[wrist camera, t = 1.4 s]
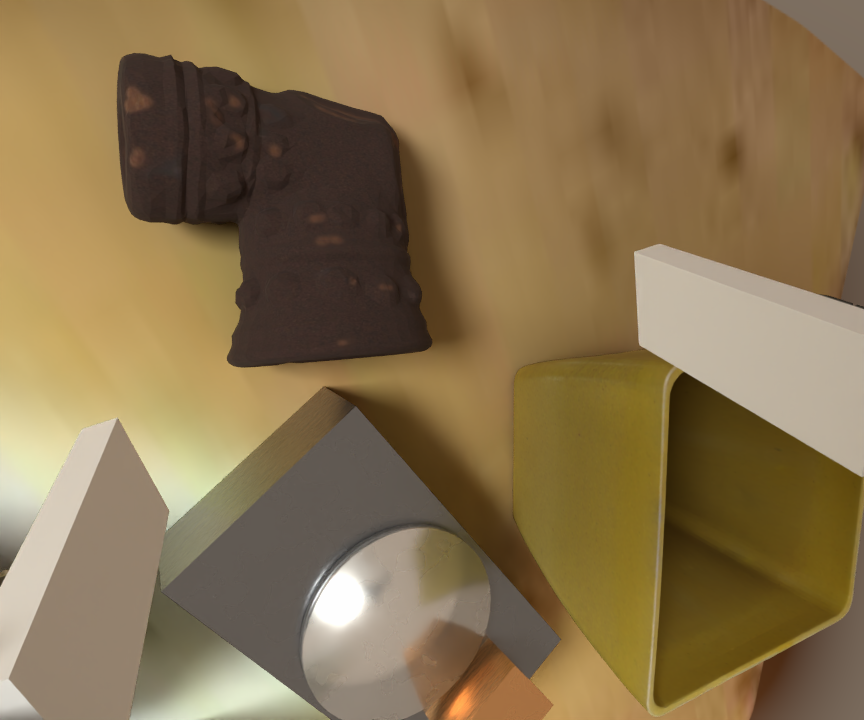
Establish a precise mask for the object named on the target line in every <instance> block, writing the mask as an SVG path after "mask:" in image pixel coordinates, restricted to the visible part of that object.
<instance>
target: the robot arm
mask: <svg viewBox="0 0 864 720" xmlns="http://www.w3.org/2000/svg"><path fill="white" fill-rule="evenodd" d="M634 259H635V277H636V296H637V315H638V334H639V345H640V346H642V347H643V348H645V349H647V350H649V351H650V352H652V353H654V354H655V355H657V356H659V357H660V358H662V359H664V360H665V361H667V362H669V363H670V364H672V365H674V366H675V367H677V368H679V369H681V370H682V371H684V372H686V373H687V374H689V375H691V376H692V377H694V378H696V379H697V380H699V381H701V382H702V383H704V384H706V385H707V386H709V387H711V388H713V389H714V390H716V391H718V392H719V393H721V394H723V395H724V396H726V397H728V398H729V399H731V400H733V401H734V402H736V403H738V404H739V405H741V406H743V407H745V408H746V409H748V410H750V411H751V412H753V413H755V414H756V415H758V416H760V417H761V418H763V419H765V420H766V421H768V422H770V423H771V424H773V425H775V426H777V427H778V428H780V429H782V430H783V431H785V432H787V433H788V434H790V435H792V436H793V437H795V438H797V439H798V440H800V441H802V442H803V443H805V444H807V445H809V446H810V447H812V448H814V449H815V450H817V451H819V452H820V453H822V454H824V455H825V456H827V457H829V458H830V459H832V460H834V461H835V462H837V463H839V464H841V465H842V466H844V467H846V468H847V469H849V470H851V471H852V472H854V473H856V474H857V475H859V476H861V477H863V476H864V307H863V306H859V305H856V306H853V304H852V303H850V302H846V301H843V300H840V299H837V298H834V297H831V296H827V295H820V294H815V293H812V292H809V291H806V290H803V289H799V288H796V287H793V286H790V285H787V284H784V283H781V282H778V281H774V280H771V279H768V278H765V277H762V276H759V275H756V274H753V273H749V272H746V271H743V270H740V269H737V268H734V267H731V266H728V265H724V264H721V263H718V262H715V261H712V260H709V259H706V258H703V257H699V256H696V255H693V254H690V253H687V252H684V251H681V250H678V249H674V248H671V247H668V246H665V245H662V244H657V245H654V246H651V247H648V248H645V249H642V250H639V251H635V252H634ZM168 514H169V509H168V508H167V506H166V504H165V502H164V500H163V499H162V497H161V495H160V493H159V491H158V490H157V488H156V486H155V484H154V482H153V481H152V479H151V477H150V475H149V473H148V472H147V470H146V468H145V466H144V464H143V463H142V461H141V459H140V457H139V455H138V454H137V452H136V450H135V448H134V446H133V445H132V443H131V441H130V439H129V437H128V435H127V434H126V432H125V430H124V428H123V426H122V425H121V423H120V421H119V419H118V418H115V419H112V420H108V421H105V422H102V423H99V424H96V425H93V426H90V427H87V428H83V429H82V430H81V431H80V433H79V435H78V437H77V439H76V441H75V443H74V445H73V447H72V449H71V451H70V453H69V455H68V457H67V459H66V461H65V463H64V464H63V466H62V468H61V470H60V472H59V474H58V476H57V478H56V480H55V482H54V484H53V486H52V488H51V490H50V492H49V494H48V496H47V497H46V499H45V501H44V503H43V505H42V507H41V509H40V511H39V513H38V515H37V517H36V519H35V521H34V523H33V525H32V527H31V528H30V530H29V532H28V534H27V536H26V538H25V540H24V542H23V544H22V546H21V548H20V550H19V552H18V554H17V556H16V558H15V560H14V561H13V563H12V565H11V567H10V569H9V571H8V573H7V575H5V576H2V577H0V720H129V718H130V713H131V708H132V703H133V697H134V692H135V687H136V682H137V677H138V671H139V666H140V661H141V656H142V650H143V645H144V640H145V635H146V629H147V624H148V619H149V614H150V609H151V603H152V598H153V593H154V588H155V582H156V577H157V572H158V567H159V561H160V556H161V551H162V546H163V541H164V535H165V530H166V525H167V520H168Z"/></svg>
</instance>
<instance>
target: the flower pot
mask: <svg viewBox="0 0 864 720" xmlns="http://www.w3.org/2000/svg"><path fill="white" fill-rule="evenodd" d="M863 508H864V476H863V477H861V476H859V475H857V474H856V473H854V472H852V471H851V470H849V469H847V468H846V467H844V466H842V465H841V464H839V463H837V462H835V461H834V460H832V459H830V458H829V457H827V456H825V455H824V454H822V453H820V452H819V451H817V450H815V449H814V448H812V447H810V446H809V445H807V444H805V443H803V442H802V441H800V440H798V439H797V438H795V437H793V436H792V435H790V434H788V433H787V432H785V431H783V430H782V429H780V428H778V427H777V426H775V425H773V424H771V423H770V422H768V421H766V420H765V419H763V418H761V417H760V416H758V415H756V414H755V413H753V412H751V411H750V410H748V409H746V408H745V407H743V406H741V405H739V404H738V403H736V402H734V401H733V400H731V399H729V398H728V397H726V396H724V395H723V394H721V393H719V392H718V391H716V390H714V389H713V388H711V387H709V386H707V385H706V384H704V383H702V382H701V381H699V380H697V379H696V378H694V377H692V376H691V375H689V374H687V373H686V372H684V371H682V370H681V369H679V368H677V367H675V366H674V365H672V364H670V363H669V362H667V361H665V360H664V359H662V358H660V357H659V356H657V355H655V354H654V353H652V352H650V351H649V350H647V349H643V350H636V351H630V352H623V353H616V354H607V355H598V356H588V357H579V358H569V359H560V360H552V361H545V362H540V363H535V364H531V365H527V366H524V367H522V368H521V369H520V370H519V371H518V372H517V374H516V376H515V380H514V468H513V517H514V520H515V522H516V524H517V526H518V528H519V531H520V533H521V535H522V537H523V539H524V541H525V543H526V544H527V546H528V548H529V550H530V552H531V553H532V555H533V557H534V559H535V561H536V562H537V564H538V566H539V567H540V569H541V571H542V573H543V574H544V576H545V578H546V579H547V581H548V583H549V584H550V586H551V587H552V589H553V590H554V592H555V594H556V595H557V597H558V598H559V600H560V601H561V603H562V604H563V606H564V607H565V608H566V610H567V611H568V613H569V614H570V616H571V617H572V619H573V620H574V622H575V623H576V624H577V626H578V627H579V628H580V630H581V631H582V632H583V634H584V635H585V636H586V638H587V639H588V640H589V642H590V643H591V644H592V646H593V647H594V648H595V650H596V651H597V652H598V653H599V655H600V656H601V657H602V658H603V660H604V661H605V662H606V663H607V665H608V666H609V667H610V668H611V670H612V671H613V672H614V673H615V674H616V676H617V677H618V678H619V679H620V681H621V682H622V683H623V684H624V686H625V687H626V688H627V689H628V690H629V692H630V693H631V694H632V695H633V696H634V697H635V698H636V699H637V700H638V702H639V703H640V704H641V705H642V706H643V707H644V708H645V709H646V710H647V711H648V712H649V713H650V714H651V715H652V716H654V717H659V716H663V715H665V714H666V713H668V712H670V711H672V710H674V709H676V708H678V707H680V706H682V705H683V704H685V703H687V702H689V701H691V700H693V699H695V698H696V697H698V696H700V695H702V694H703V693H705V692H707V691H709V690H711V689H713V688H714V687H716V686H718V685H720V684H722V683H724V682H725V681H727V680H729V679H731V678H733V677H735V676H737V675H739V674H741V673H743V672H744V671H746V670H748V669H750V668H752V667H754V666H756V665H758V664H760V663H761V662H763V661H765V660H767V659H769V658H771V657H773V656H774V655H776V654H778V653H780V652H782V651H784V650H785V649H787V648H789V647H791V646H793V645H795V644H797V643H799V642H800V641H802V640H804V639H806V638H808V637H810V636H812V635H813V634H815V633H817V632H819V631H821V630H823V629H824V628H826V627H828V626H830V625H832V624H834V623H836V622H837V621H839V620H840V619H842V617H844V616H845V615H846V613H847V612H848V611H849V609H850V606H851V603H852V599H853V591H854V580H855V573H856V563H857V557H858V549H859V541H860V532H861V524H862V516H863Z"/></svg>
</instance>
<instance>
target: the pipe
mask: <svg viewBox="0 0 864 720" xmlns="http://www.w3.org/2000/svg"><path fill="white" fill-rule="evenodd" d="M117 117H118V139H119V153H120V166H121V175H122V183H123V191H124V197H125V201H126V203H127V206H128V209H129V210H130V212H131V214H132V215H133V216H134V217H136V218H138V219H140V220H143V221H147V222H164V223H169V224H180V223H182V222H187V223H190V224H200V223H213V224H224V223H227V222H233V223H236V224H237V225H238V227H239V249H240V254H241V262H240V265H241V270H242V272H243V283H242V284H241V286H240V288H238V289H237V291H236V304H237V306H238V307H239V308H240V309H241V314H240V320H239V323H238V325H237V327H236V329H235V331H234V333H233V335H232V347H231V349H230V352H229V354H228V356H227V361H228V362H229V364H231V365H233V366H236V367H260V366H272V365H279V364H284V363H288V362H290V363H304V362H317V361H329V360H341V359H353V358H364V357H375V356H385V355H395V354H405V353H413V352H420V351H425V350H427V349H428V348H430V347H431V345H432V339H431V337H430V335H429V333H428V331H427V324H426V320H425V319H424V317H423V315H422V313H421V311H420V309H419V305H420V302H421V298H422V291H421V289H420V286H419V284H418V283H417V282H416V281H415V280H414V279H413V277H412V275H411V272H410V256H409V254H408V253H407V246H408V242H409V232H408V226H407V220H406V208H405V202H404V195H403V189H402V177H401V166H400V156H399V141H398V138H397V135H396V133H395V132H394V130H393V129H392V127H391V126H390V125H389V124H388V123H387V121H386V120H385V119H384V118H383V117H382V116H380V115H377V114H374V113H371V112H368V111H364V110H360V109H356V108H352V107H349V106H345V105H342V104H339V103H336V102H333V101H329V100H326V99H323V98H320V97H317V96H314V95H311V94H308V93H305V92H301V91H295V90H287V91H283V92H280V93H269V92H266V91H263V90H260V89H257V88H254V87H252V86H250V85H249V83H248V82H246V81H244V80H243V79H241V77H240V76H239V75H238V74H237V73H235V72H232V71H229V70H226V69H223V68H219V67H203V68H198V67H196V66H195V65H194V64H193V63H192V62H189V61H184V62H179V61H177V60H174V59H173V57H172V56H171V55H168V56H164V57H160V58H159V57H155V56H151V55H147V54H140V53H133V54H129V55H126V56H124V57H122V59H121V61H120V65H119V71H118V82H117Z"/></svg>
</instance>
